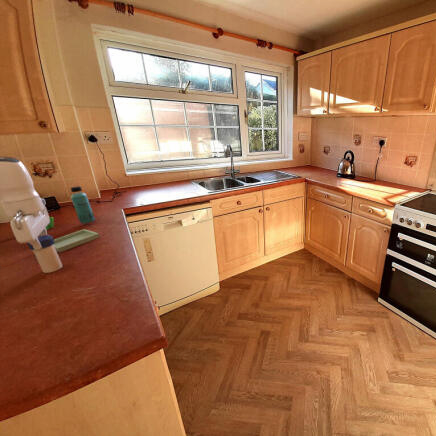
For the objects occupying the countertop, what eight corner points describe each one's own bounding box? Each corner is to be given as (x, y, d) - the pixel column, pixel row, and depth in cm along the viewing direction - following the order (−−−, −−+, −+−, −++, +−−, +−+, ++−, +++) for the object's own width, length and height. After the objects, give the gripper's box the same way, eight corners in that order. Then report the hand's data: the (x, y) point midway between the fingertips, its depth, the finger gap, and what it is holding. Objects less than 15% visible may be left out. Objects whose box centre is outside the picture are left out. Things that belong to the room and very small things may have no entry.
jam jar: (47, 274, 85) (33, 245, 81) (39, 270, 88) (26, 242, 83) (65, 266, 90) (54, 238, 86) (58, 263, 92) (46, 236, 88)
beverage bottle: (78, 225, 127) (63, 188, 120) (91, 220, 133) (78, 185, 125) (86, 226, 125) (71, 189, 117) (99, 222, 131) (86, 185, 123)
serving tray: (59, 252, 100) (57, 248, 99) (45, 247, 105) (43, 242, 104) (99, 237, 113) (98, 233, 112) (85, 232, 118) (84, 229, 117)
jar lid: (59, 242, 87) (56, 236, 86) (37, 251, 82) (34, 244, 81) (47, 240, 89) (44, 234, 88) (25, 248, 83) (22, 241, 82)
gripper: (26, 214, 73) (45, 253, 78) (45, 198, 89) (60, 232, 95) (-4, 218, 70) (18, 260, 75) (22, 201, 86) (38, 236, 92)
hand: (42, 244), depth 85 cm, fingers closed on jar lid, 6 cm apart
